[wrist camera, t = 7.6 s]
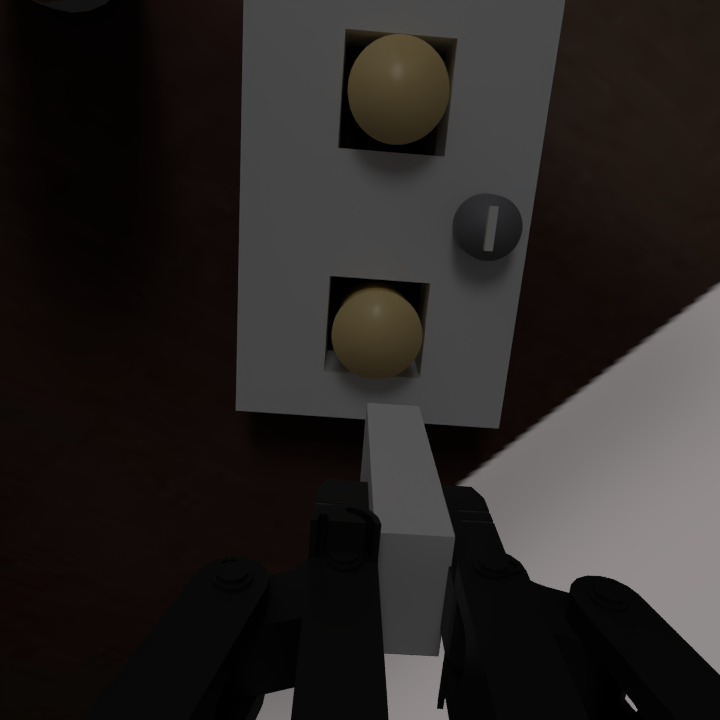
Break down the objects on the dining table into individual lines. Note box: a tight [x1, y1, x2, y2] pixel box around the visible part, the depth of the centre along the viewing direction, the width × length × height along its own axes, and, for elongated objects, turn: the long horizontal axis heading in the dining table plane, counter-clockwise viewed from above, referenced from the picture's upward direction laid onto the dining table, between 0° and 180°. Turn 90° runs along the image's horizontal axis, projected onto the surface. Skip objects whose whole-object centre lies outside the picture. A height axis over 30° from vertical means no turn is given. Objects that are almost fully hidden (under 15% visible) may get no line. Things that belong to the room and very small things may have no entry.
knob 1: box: [348, 34, 450, 145], centre depth 29 cm, size 4×4×4 cm
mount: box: [236, 0, 565, 428], centre depth 31 cm, size 14×21×6 cm, turn 176°
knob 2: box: [332, 281, 422, 379], centre depth 32 cm, size 4×4×4 cm
